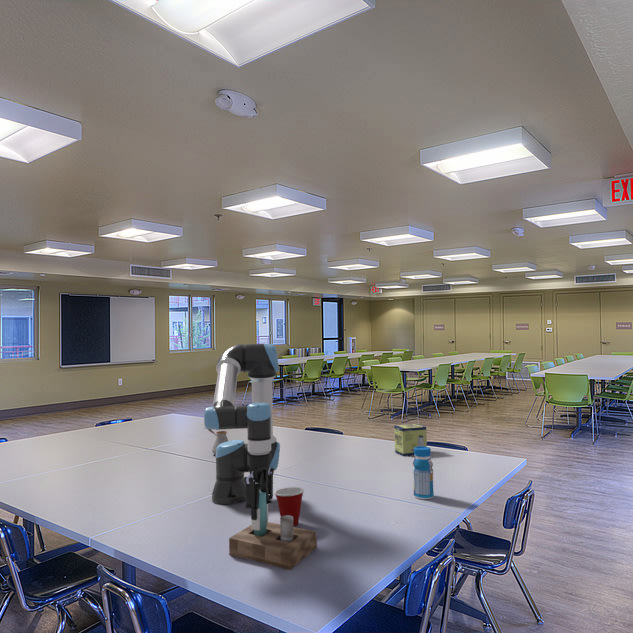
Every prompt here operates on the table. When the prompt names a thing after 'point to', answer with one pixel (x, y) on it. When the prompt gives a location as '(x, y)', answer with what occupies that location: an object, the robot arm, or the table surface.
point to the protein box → (409, 438)
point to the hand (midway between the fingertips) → (260, 526)
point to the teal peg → (262, 515)
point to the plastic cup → (290, 502)
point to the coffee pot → (219, 439)
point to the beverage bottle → (423, 473)
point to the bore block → (275, 544)
